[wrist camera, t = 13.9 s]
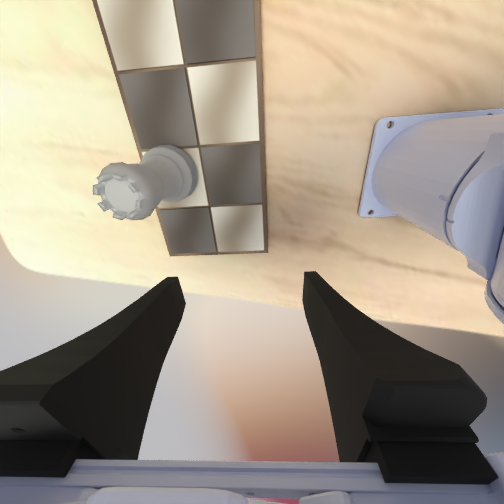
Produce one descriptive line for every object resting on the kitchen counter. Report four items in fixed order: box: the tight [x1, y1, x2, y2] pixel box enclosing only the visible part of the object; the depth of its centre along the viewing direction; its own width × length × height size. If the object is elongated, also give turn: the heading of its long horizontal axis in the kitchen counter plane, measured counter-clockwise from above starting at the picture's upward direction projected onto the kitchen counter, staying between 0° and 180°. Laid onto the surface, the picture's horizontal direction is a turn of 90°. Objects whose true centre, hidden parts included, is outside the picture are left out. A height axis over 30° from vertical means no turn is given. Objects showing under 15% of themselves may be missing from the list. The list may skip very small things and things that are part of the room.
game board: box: [92, 0, 268, 256], centre depth 17 cm, size 11×21×1 cm, turn 4°
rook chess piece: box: [93, 145, 198, 220], centre depth 14 cm, size 4×4×8 cm
